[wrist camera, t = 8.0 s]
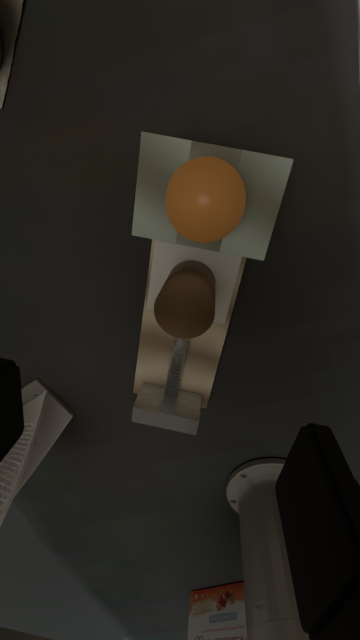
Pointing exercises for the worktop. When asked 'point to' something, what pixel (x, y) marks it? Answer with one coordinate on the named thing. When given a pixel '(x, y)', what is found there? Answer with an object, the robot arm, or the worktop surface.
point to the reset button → (205, 199)
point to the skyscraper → (31, 439)
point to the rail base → (245, 240)
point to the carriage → (190, 288)
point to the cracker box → (218, 613)
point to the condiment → (8, 39)
